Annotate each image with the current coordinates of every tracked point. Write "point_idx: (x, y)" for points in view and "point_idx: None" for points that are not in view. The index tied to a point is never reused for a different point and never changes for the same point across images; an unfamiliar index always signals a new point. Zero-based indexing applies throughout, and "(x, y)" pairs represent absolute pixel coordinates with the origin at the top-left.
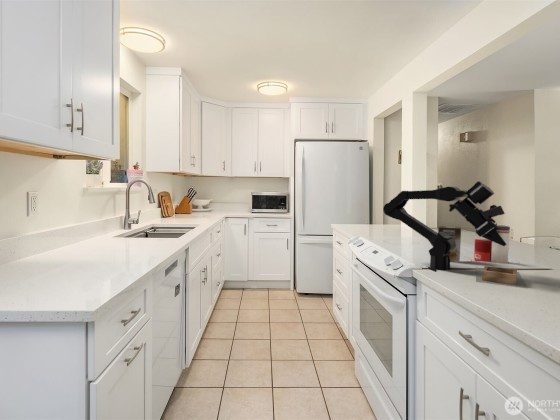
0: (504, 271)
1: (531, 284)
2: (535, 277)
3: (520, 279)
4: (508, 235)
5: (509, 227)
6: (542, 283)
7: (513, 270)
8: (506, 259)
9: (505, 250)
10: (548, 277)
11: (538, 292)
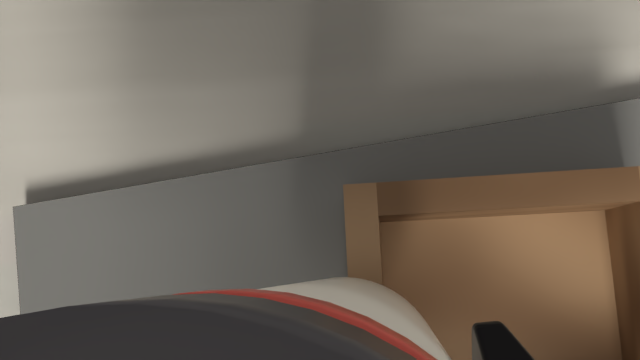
0: None
1: (372, 91)
2: (72, 84)
3: (332, 169)
4: (361, 308)
5: (254, 318)
6: (269, 26)
7: (426, 211)
8: (393, 292)
9: (421, 321)
10: (6, 3)
11: (628, 29)
